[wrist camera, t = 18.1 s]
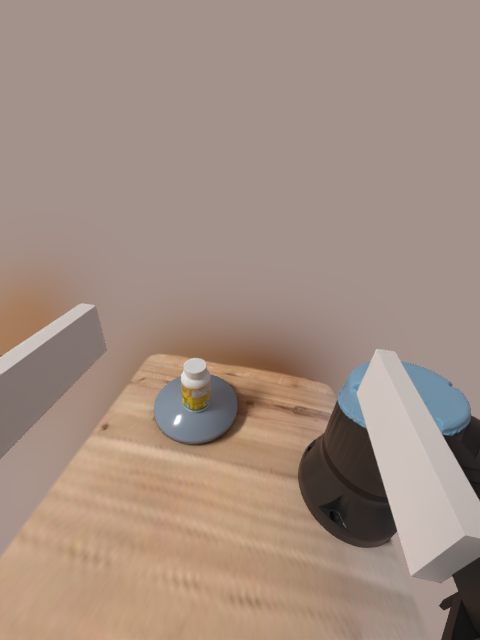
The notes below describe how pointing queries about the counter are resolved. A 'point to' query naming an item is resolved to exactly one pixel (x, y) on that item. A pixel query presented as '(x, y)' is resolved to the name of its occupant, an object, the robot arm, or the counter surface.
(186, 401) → the supplement bottle
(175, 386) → the slate dish
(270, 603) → the counter surface
